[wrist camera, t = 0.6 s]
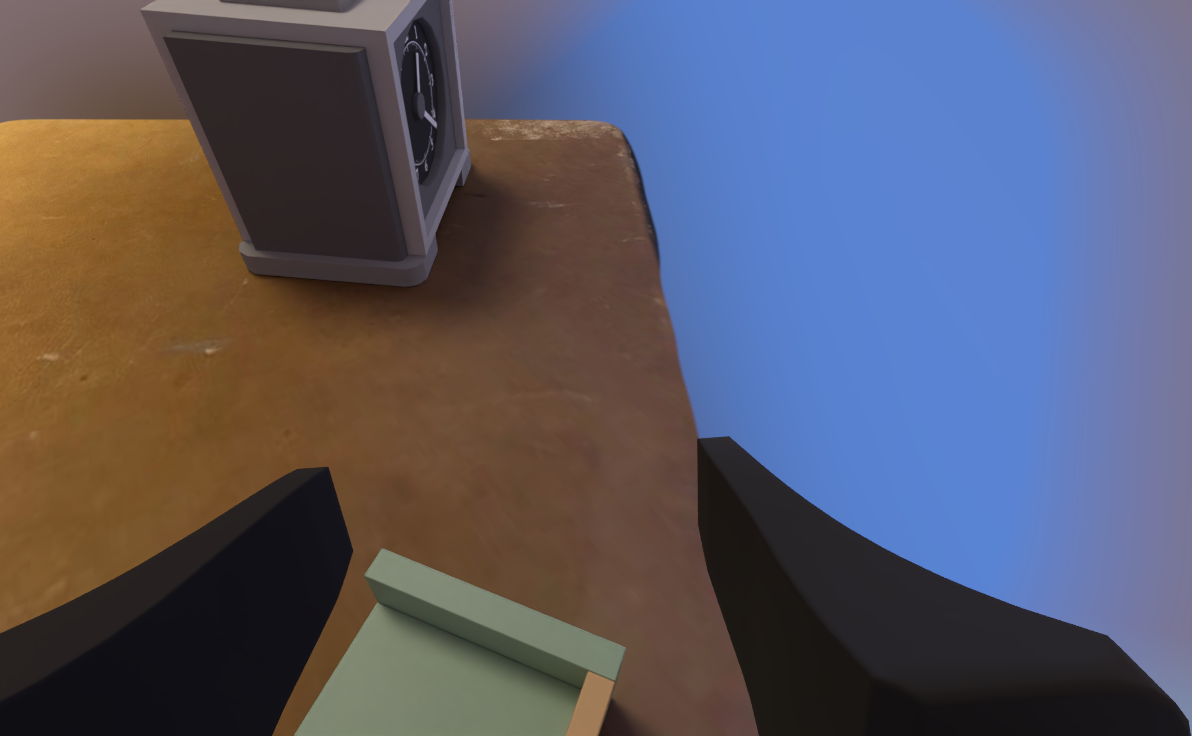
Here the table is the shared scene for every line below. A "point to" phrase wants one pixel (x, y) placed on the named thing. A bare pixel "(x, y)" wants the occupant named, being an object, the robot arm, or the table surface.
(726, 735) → the table surface
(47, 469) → the table surface
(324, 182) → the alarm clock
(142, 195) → the table surface
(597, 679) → the shelf
